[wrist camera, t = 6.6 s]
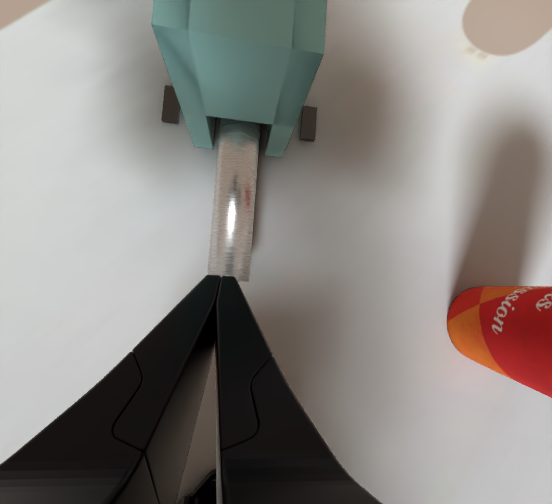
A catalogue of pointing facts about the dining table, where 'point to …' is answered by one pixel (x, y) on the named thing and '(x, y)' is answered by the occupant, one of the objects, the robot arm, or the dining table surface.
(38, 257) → the dining table surface
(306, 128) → the pipe rig
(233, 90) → the teal notched block
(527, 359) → the paper cup
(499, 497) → the dining table surface
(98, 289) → the dining table surface
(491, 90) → the dining table surface
